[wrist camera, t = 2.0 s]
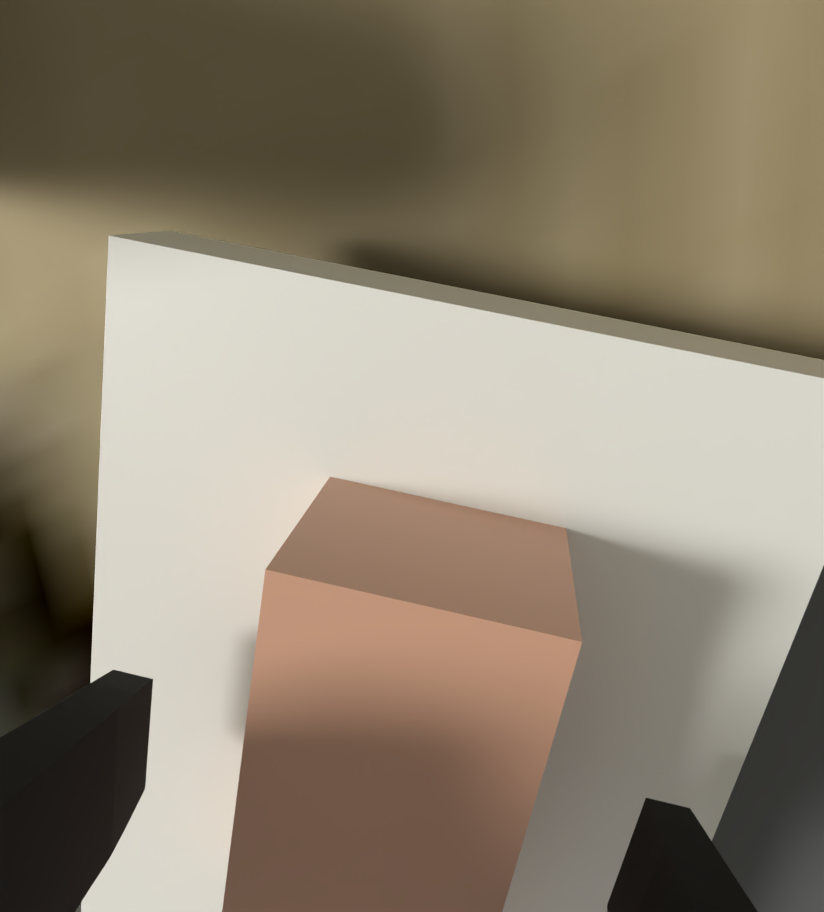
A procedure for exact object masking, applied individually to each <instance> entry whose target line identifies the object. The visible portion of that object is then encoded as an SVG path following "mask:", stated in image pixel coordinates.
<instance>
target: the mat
mask: <svg viewBox="0 0 824 912" xmlns="http://www.w3.org/2000/svg"><path fill="white" fill-rule="evenodd" d="M712 843H713V844H714V846H715V847H716V849H717V850H718V852H719V853H720V855H721V857H722V858H723V860H724V861H725V863H726V864H727V866H728V867H729V869H730V870H731V872H732V873H733V875H734V877H735V878H736V880H737V881H738V883H739V884H740V886H741V887H742V889H743V890H744V892H745V893H746V895H747V896H748V898H749V899H750V901H751V902H752V904H753V905H754V907H755V908H756V910H757V911H758V912H824V566H823V568H822V571H821V573H820V576H819V578H818V581H817V583H816V586H815V588H814V590H813V593H812V595H811V598H810V600H809V603H808V605H807V608H806V610H805V613H804V615H803V618H802V620H801V622H800V625H799V627H798V630H797V632H796V635H795V637H794V640H793V642H792V645H791V647H790V650H789V652H788V654H787V657H786V659H785V662H784V664H783V667H782V669H781V672H780V674H779V677H778V679H777V682H776V684H775V686H774V689H773V691H772V694H771V696H770V699H769V701H768V704H767V706H766V709H765V711H764V714H763V716H762V718H761V721H760V723H759V726H758V728H757V731H756V733H755V736H754V738H753V741H752V743H751V746H750V748H749V750H748V753H747V755H746V758H745V760H744V763H743V765H742V768H741V770H740V773H739V775H738V778H737V780H736V783H735V785H734V787H733V790H732V792H731V795H730V797H729V800H728V802H727V805H726V807H725V810H724V812H723V815H722V817H721V819H720V822H719V824H718V827H717V829H716V832H715V834H714V837H713V839H712Z"/></svg>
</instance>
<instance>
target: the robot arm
mask: <svg viewBox="0 0 824 912" xmlns="http://www.w3.org/2000/svg"><path fill="white" fill-rule="evenodd" d="M152 687H153V679H151V678H147V677H142V676H138V675H134V674H130V673H126V672H122V671H117V670H112V671H110V672H109V673H107V674H105V675H103V676H102V677H100V678H98V679H97V680H95V681H93V682H92V683H90V684H88V685H87V686H85V687H83V688H82V689H80V690H78V691H77V692H75V693H73V694H72V695H70V696H68V697H67V698H65V699H64V700H62V701H60V702H59V703H57V704H55V705H54V706H52V707H50V708H49V709H47V710H45V711H44V712H42V713H41V714H39V715H37V716H36V717H34V718H32V719H31V720H29V721H27V722H26V723H24V724H22V725H21V726H19V727H17V728H15V729H14V730H12V731H10V732H9V733H7V734H5V735H3V736H2V737H0V912H75V911H76V909H77V908H78V906H79V904H80V903H81V901H82V900H83V898H84V897H85V895H86V894H87V892H88V891H89V889H90V888H91V886H92V885H93V883H94V882H95V880H96V878H97V877H98V875H99V874H100V872H101V871H102V869H103V868H104V866H105V865H106V863H107V861H108V860H109V858H110V857H111V855H112V853H113V851H114V849H115V847H116V845H117V843H118V842H119V840H120V838H121V836H122V834H123V832H124V830H125V828H126V826H127V824H128V822H129V820H130V818H131V816H132V814H133V812H134V810H135V808H136V806H137V804H138V802H139V800H140V798H141V796H142V794H143V792H144V790H145V784H146V770H147V756H148V742H149V728H150V714H151V701H152ZM607 912H758V911H757V910H756V908H755V907H754V905H753V904H752V902H751V901H750V899H749V898H748V896H747V895H746V893H745V892H744V890H743V889H742V887H741V886H740V884H739V883H738V881H737V880H736V878H735V877H734V875H733V873H732V872H731V870H730V869H729V867H728V866H727V864H726V863H725V861H724V860H723V858H722V857H721V855H720V853H719V852H718V850H717V849H716V847H715V846H714V844H713V843H712V841H711V839H710V838H709V836H708V835H707V833H706V832H705V830H704V829H703V827H702V826H701V824H700V823H699V821H698V819H697V818H696V816H695V815H694V813H693V812H692V810H691V809H690V808H687V807H683V806H679V805H675V804H671V803H667V802H662V801H658V800H654V799H650V798H646V799H645V801H644V804H643V807H642V810H641V813H640V815H639V818H638V821H637V824H636V826H635V829H634V832H633V835H632V837H631V840H630V843H629V846H628V849H627V851H626V854H625V857H624V860H623V862H622V865H621V868H620V871H619V874H618V876H617V879H616V882H615V885H614V887H613V890H612V893H611V896H610V898H609V901H608V904H607Z"/></svg>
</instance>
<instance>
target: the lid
mask: <svg viewBox="0 0 824 912" xmlns="http://www.w3.org/2000/svg"><path fill="white" fill-rule="evenodd" d="M823 566H824V360H822V359H816V358H811V357H806V356H801V355H796V354H791V353H786V352H781V351H776V350H771V349H766V348H761V347H756V346H751V345H746V344H741V343H736V342H731V341H726V340H721V339H716V338H710V337H705V336H700V335H695V334H690V333H685V332H680V331H675V330H670V329H665V328H660V327H655V326H650V325H645V324H640V323H635V322H630V321H625V320H620V319H615V318H610V317H605V316H599V315H594V314H589V313H584V312H579V311H574V310H569V309H564V308H559V307H554V306H549V305H544V304H539V303H534V302H529V301H524V300H519V299H514V298H509V297H504V296H499V295H493V294H488V293H483V292H478V291H473V290H468V289H463V288H458V287H453V286H448V285H443V284H438V283H433V282H428V281H423V280H418V279H413V278H408V277H403V276H398V275H393V274H388V273H382V272H377V271H372V270H367V269H362V268H357V267H352V266H347V265H342V264H337V263H332V262H327V261H322V260H317V259H312V258H307V257H302V256H297V255H292V254H287V253H282V252H276V251H271V250H266V249H261V248H256V247H251V246H246V245H241V244H236V243H231V242H226V241H221V240H216V239H211V238H206V237H201V236H196V235H191V234H186V233H181V232H176V231H161V232H148V233H135V234H122V235H109V241H108V265H107V290H106V314H105V339H104V363H103V388H102V413H101V437H100V462H99V486H98V511H97V535H96V560H95V584H94V609H93V633H92V658H91V682H90V683H92V682H93V681H95V680H97V679H98V678H100V677H102V676H103V675H105V674H107V673H109V672H110V671H112V670H117V671H122V672H126V673H130V674H134V675H138V676H142V677H147V678H151V679H153V687H152V701H151V714H150V728H149V742H148V756H147V770H146V784H145V790H144V792H143V794H142V796H141V798H140V800H139V802H138V804H137V806H136V808H135V810H134V812H133V814H132V816H131V818H130V820H129V822H128V824H127V826H126V828H125V830H124V832H123V834H122V836H121V838H120V840H119V842H118V843H117V845H116V847H115V849H114V851H113V853H112V855H111V857H110V858H109V860H108V861H107V863H106V865H105V866H104V868H103V869H102V871H101V872H100V874H99V875H98V877H97V878H96V880H95V882H94V883H93V885H92V886H91V888H90V889H89V891H88V892H87V894H86V895H85V897H84V898H83V900H82V903H81V912H607V904H608V901H609V898H610V896H611V893H612V890H613V887H614V885H615V882H616V879H617V876H618V874H619V871H620V868H621V865H622V862H623V860H624V857H625V854H626V851H627V849H628V846H629V843H630V840H631V837H632V835H633V832H634V829H635V826H636V824H637V821H638V818H639V815H640V813H641V810H642V807H643V804H644V801H645V799H646V798H650V799H654V800H658V801H662V802H667V803H671V804H675V805H679V806H683V807H687V808H690V809H691V810H692V812H693V813H694V815H695V816H696V818H697V819H698V821H699V823H700V824H701V826H702V827H703V829H704V830H705V832H706V833H707V835H708V836H709V838H710V839H711V841H712V839H713V837H714V834H715V832H716V829H717V827H718V824H719V822H720V819H721V817H722V815H723V812H724V810H725V807H726V805H727V802H728V800H729V797H730V795H731V792H732V790H733V787H734V785H735V783H736V780H737V778H738V775H739V773H740V770H741V768H742V765H743V763H744V760H745V758H746V755H747V753H748V750H749V748H750V746H751V743H752V741H753V738H754V736H755V733H756V731H757V728H758V726H759V723H760V721H761V718H762V716H763V714H764V711H765V709H766V706H767V704H768V701H769V699H770V696H771V694H772V691H773V689H774V686H775V684H776V682H777V679H778V677H779V674H780V672H781V669H782V667H783V664H784V662H785V659H786V657H787V654H788V652H789V650H790V647H791V645H792V642H793V640H794V637H795V635H796V632H797V630H798V627H799V625H800V622H801V620H802V618H803V615H804V613H805V610H806V608H807V605H808V603H809V600H810V598H811V595H812V593H813V590H814V588H815V586H816V583H817V581H818V578H819V576H820V573H821V571H822V568H823Z"/></svg>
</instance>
